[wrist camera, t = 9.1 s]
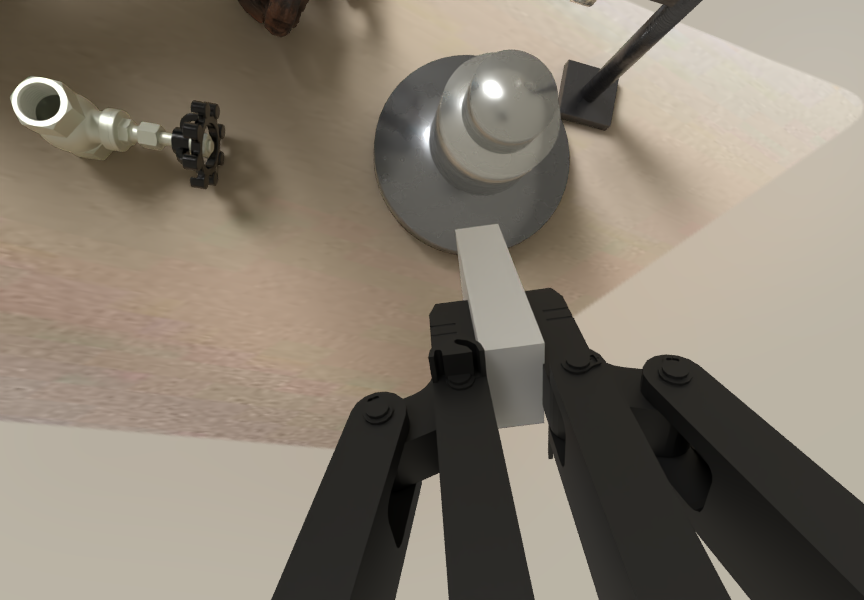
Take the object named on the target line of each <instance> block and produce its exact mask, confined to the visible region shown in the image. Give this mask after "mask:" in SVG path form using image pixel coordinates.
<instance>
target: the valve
mask: <svg viewBox="0 0 864 600" xmlns="http://www.w3.org/2000/svg"><path fill="white" fill-rule="evenodd" d="M10 100H11V104H12V106H13V109H14V111H15V113H16V115H17V117H18V119H19V121H20V123H21V124H22V125H23V126H25V127H27V128H29V129H30V130H32V131H34V132H36V133H39V134H40V135H41V136H42V137H43V138H44V139H45V140H46V141H47V142H48V143H50V144H51V145H53V146H55V147H57V148H59V149H61V150H64V151H68V152H71V153H73V154H74V155H76V156H78V157H83V158H90V159H96V160H102V161H104V160H105V159H106V158H107V157H108V156H109V155H110V154H111V153H112V152H113V150H114V151H120V152H125V151H127V150H128V149H129V148H130V146H134V145H135V144H136V143H137V142H138V144H140V145H141V146H142V147H144V148H148V149H154V150H160V151H162V150H163V149H164V147H165V146H171V147H172V150H173V152H174V153H175V154H176V157H177V160H178V161H179V162H180V163H181V164H182V165H183V168H184V169H188V170H194V171H196V172H197V173H198V175H197V178H193V177H190V184H191V186H192V187H194V188H200V189H207V187H208V185H212V186H216V185H217V182H218V174H217V172H216V167H217V165H221V166H222V165H223V163H224V153H223V152H222V151H220V140H221V139H223V138H224V136H225V126H224V125H223V124H218V123H217V119H218V118H219V115H220V108H219V105H218V104H215V103H210V102H201V101H196V100H193V101H192V103H191V112H195V113H189V114H186V115H185V116H184V117H183V118H182V119H181V122H180V127H176V128H174V130H173V132H172V133H170V132H166V131H165V129H164V127H162V126H161V125H159V124H154V123H148V122H141V124H140V125H139V126H137V124H136V123H135V122H134V121H133V120H131V118H130V116H129V114H128V113H127V112H126V111H124V110H119V109H113V108H106V109H104V110H103V111H99V110H98V108H97V107H96V106H95V105H94V104H93V103H92V102H90V101H89V100H88V99H86V98H85V97H83V96H81V95H79V94H76V93H75V92H74V91H72V90H71V89H70V88H69V87H67V86H66V85H65V84H64V83H62V82H60V81H56V80H52V79H48V78H42V77H35V76H29V77H28V78H26V79H25V80H24V81H23V82H22V83H20V84H19V85H18V86H17V88H16V89H15V90H14V91H13V93H12V94H11V96H10ZM191 121H195V123H190V122H191ZM206 127H208V130H209V134H206V133H204V132H205V129H206ZM203 157H205V158H208V160H207V162H206V164H204V160H203Z"/></svg>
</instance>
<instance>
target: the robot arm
mask: <svg viewBox="0 0 864 600" xmlns="http://www.w3.org/2000/svg"><path fill="white" fill-rule="evenodd" d="M455 233H456V242H457V251H458V260H459V269H460V278H461V288H462V296H463V301H456V302H448V303H440V304H435V306H434V307H433V309H432V311H431V313H430V315H429V318H430V332H431V345H432V348H431V350H430V352H429V357H428V358H429V364H430V370H431V376H432V379H431V381H430V382H429V384H428V385H427V386H426V387H425V388H424V389H422V390H421V391H420V392H418V393H416V394H414V395H412V396H409V397H407V398H404V399H402V398H401V397H399V396H398V395H396V394H394V393H389V392H378V393H373V394H371V395H368V396H366V397H364V398H363V399H361V400H360V401H359V402H358V403H357V404H356V405H355V406H354V408H353V409H352V411H351V413H350V416H349V418H348V420H347V423H346V425H345V427H344V430H343V432H342V434H341V437H340V439H339V441H338V444H337V446H336V449H335V451H334V453H333V456H332V458H331V460H330V463H329V465H328V467H327V470H326V472H325V475H324V477H323V479H322V481H321V484H320V486H319V489H318V491H317V493H316V496H315V498H314V500H313V503H312V505H311V508H310V510H309V512H308V514H307V517H306V519H305V522H304V524H303V526H302V529H301V531H300V533H299V536H298V538H297V540H296V543H295V545H294V547H293V550H292V552H291V554H290V557H289V559H288V562H287V564H286V566H285V569H284V571H283V573H282V576H281V578H280V580H279V583H278V585H277V587H276V590H275V592H274V594H273V597H272V599H271V600H395V598H396V593H397V589H398V584H399V580H400V576H401V572H402V567H403V563H404V559H405V554H406V550H407V545H408V541H409V537H410V533H411V528H412V524H413V519H414V515H415V510H416V506H417V502H418V498H419V494H420V489H421V485H422V480H424V479H426V478H429V477H431V476H433V475H435V474H438V473H440V487H441V500H442V513H443V526H444V540H445V553H446V567H447V580H448V594H449V600H535V599H534V594H533V589H532V585H531V580H530V576H529V571H528V567H527V562H526V557H525V552H524V547H523V543H522V538H521V533H520V529H519V525H518V519H517V515H516V511H515V505H514V501H513V496H512V492H511V487H510V483H509V478H508V473H507V468H506V463H505V459H504V454H503V449H502V445H501V440H500V435H499V431H498V429H499V428H507V427H515V426H522V425H530V424H539V423H544V411H545V414H546V418H547V420H548V424H549V431H548V433H549V435H548V455H549V459H552V458H553V454H554V458H555V461H556V464H557V467H558V470H559V473H560V476H561V480H562V483H563V486H564V489H565V493H566V496H567V499H568V502H569V505H570V509H571V512H572V515H573V518H574V521H575V525H576V528H577V531H578V534H579V537H580V540H581V543H582V547H583V550H584V553H585V556H586V559H587V563H588V566H589V569H590V572H591V576H592V579H593V582H594V585H595V588H596V592H597V595H598V598H599V600H731V598H730V596H729V594H728V593H727V591H726V589H725V587H724V585H723V583H722V581H721V580H720V577H719V576H718V574H717V572H716V570H715V568H714V566H713V564H712V562H711V560H710V559H709V557H708V555H707V553H706V551H705V549H704V547H703V545H702V543H701V541H700V539H699V538H698V536H697V534H698V535H699V536H700V538H701V539H702V540H703V541H704V543H705V544H706V545H707V546H708V548H709V549H710V550H711V551H712V553H713V554H714V555H715V556H716V557H717V559H718V560H719V561H720V562H721V563H722V565H723V566H724V567H725V569H726V570H727V571H728V572H729V573H730V575H731V576H732V577H733V579H734V580H735V581H736V582H737V583H738V585H739V586H740V587H741V588H742V590H743V591H744V592H745V593H746V595H747V596H748V597H749V598H750V599H751V600H864V504H863V503H862V502H861V501H860V500H859V499H857V498H856V497H855V496H854V495H853V494H852V493H850V492H849V491H848V490H847V489H846V488H844V487H843V486H842V485H841V484H840V483H839V482H837V481H836V480H835V479H834V478H833V477H831V476H830V475H829V474H828V473H827V472H825V471H824V470H823V469H822V468H821V467H819V466H818V465H817V464H816V463H815V462H814V461H812V460H811V459H810V458H809V457H807V456H806V455H805V454H804V453H803V452H802V451H800V450H799V449H798V448H797V447H796V446H794V445H793V444H792V443H791V442H790V441H789V440H787V439H786V438H785V437H784V436H782V435H781V434H780V433H779V432H778V431H777V430H775V429H774V428H773V427H772V426H770V425H769V424H768V423H767V422H766V421H765V420H763V419H762V418H761V417H760V416H759V415H757V414H756V413H755V412H754V411H753V410H751V409H750V408H749V407H748V406H747V405H746V404H744V403H743V402H742V401H741V400H740V399H738V398H737V397H736V396H735V395H734V394H733V393H731V392H730V391H729V390H728V389H727V388H725V387H724V386H723V385H722V384H721V383H719V382H718V381H717V380H716V379H715V378H713V377H712V376H711V375H710V374H709V373H708V372H706V371H705V370H704V369H703V368H702V367H700V366H699V365H698V364H696V363H694V362H693V361H691V360H689V359H686V358H683V357H680V356H675V355H660V356H654V357H653V358H651V359H649V360H647V362H646V363H645V365H644V366H643V369H636V368H626V367H619V366H614V365H611V364H608V363H606V361H605V360H604V359H603V358H602V357H601V355H600V354H598V353H596V352H594V351H593V350H591V349H589V347H588V345H587V344H586V342H585V340H584V338H583V336H582V334H581V332H580V330H579V328H578V326H577V324H576V322H575V320H574V318H573V317H572V314H571V312H570V310H569V309H568V306H567V304H566V302H565V300H564V298H563V296H562V295H560V294H559V293H557V292H556V291H555V290H553V289H552V288H545V289H538V290H530V291H524V289H523V286H522V284H521V281H520V279H519V276H518V273H517V271H516V268H515V266H514V263H513V261H512V258H511V255H510V253H509V250H508V248H507V245H506V243H505V240H504V238H503V235H502V232H501V230H500V227H499V225H498V224H492V225H485V226H477V227H470V228H463V229H455ZM696 533H697V534H696Z"/></svg>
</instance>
